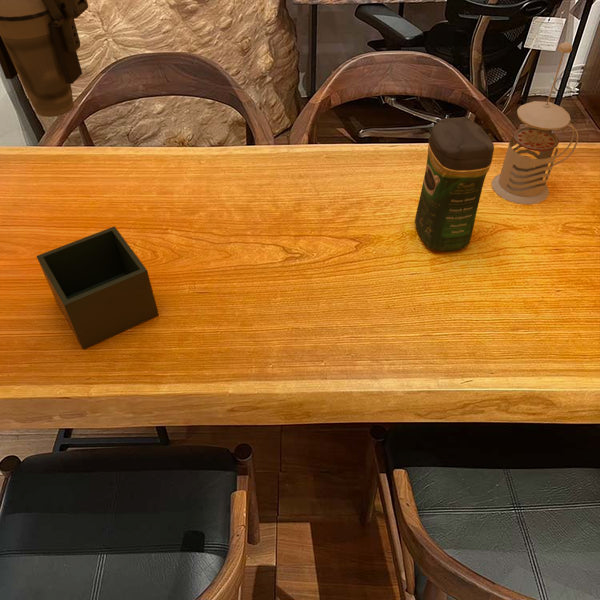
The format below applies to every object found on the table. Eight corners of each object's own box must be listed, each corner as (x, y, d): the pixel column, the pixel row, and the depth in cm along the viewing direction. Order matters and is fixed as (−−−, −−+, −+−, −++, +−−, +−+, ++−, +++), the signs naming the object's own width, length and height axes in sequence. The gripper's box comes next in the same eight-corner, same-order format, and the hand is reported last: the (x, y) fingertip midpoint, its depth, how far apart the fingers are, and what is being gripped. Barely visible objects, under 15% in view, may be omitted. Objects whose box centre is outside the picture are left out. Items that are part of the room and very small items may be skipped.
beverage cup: (76, 123, 68) (16, -75, 54) (14, 122, 68) (-63, -75, 54) (92, 93, 73) (41, -95, 59) (34, 93, 73) (-31, -95, 59)
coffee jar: (476, 251, 90) (506, 145, 77) (426, 257, 89) (448, 150, 76) (454, 213, 97) (479, 109, 84) (408, 218, 96) (425, 113, 83)
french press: (484, 172, 105) (522, 29, 87) (548, 170, 106) (599, 28, 88) (500, 205, 98) (544, 57, 80) (568, 203, 99) (627, 56, 81)
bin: (55, 300, 83) (36, 255, 77) (127, 270, 88) (114, 225, 81) (82, 350, 77) (63, 305, 71) (159, 315, 81) (147, 270, 75)
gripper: (84, -183, 53) (136, 67, 69) (-113, -187, 55) (-17, 56, 72) (45, -169, 48) (112, 97, 64) (-170, -174, 50) (-52, 84, 67)
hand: (44, 75), depth 68 cm, fingers closed on beverage cup, 7 cm apart
